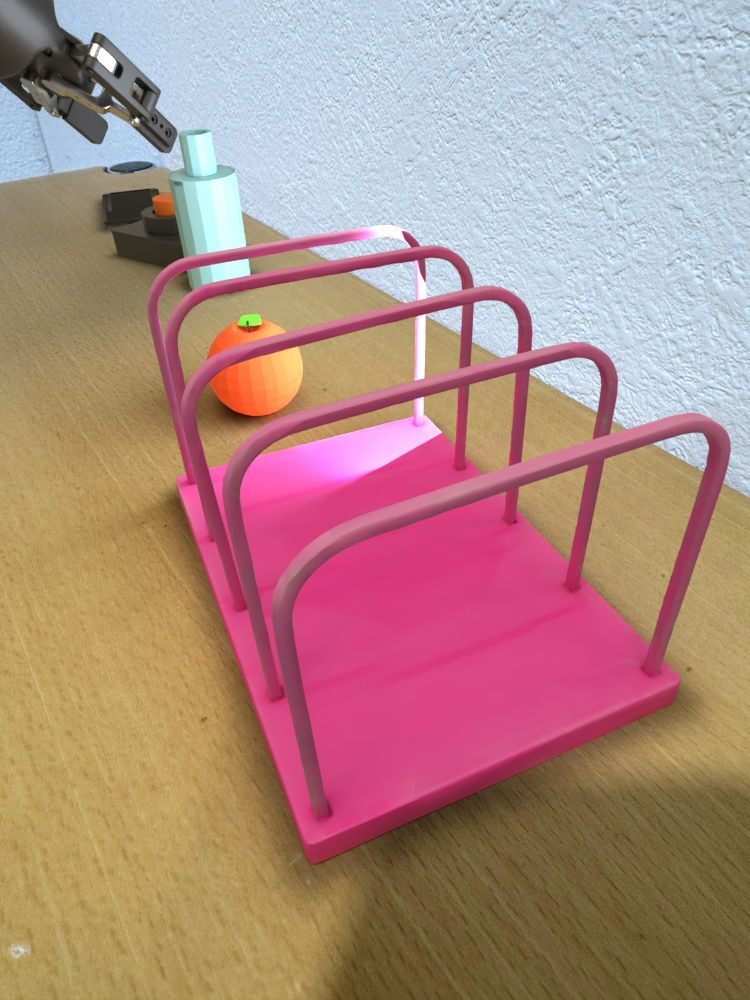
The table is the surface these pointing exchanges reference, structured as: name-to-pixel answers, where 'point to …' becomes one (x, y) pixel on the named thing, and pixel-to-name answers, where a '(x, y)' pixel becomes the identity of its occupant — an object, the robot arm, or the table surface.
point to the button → (163, 204)
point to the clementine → (256, 370)
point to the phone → (125, 206)
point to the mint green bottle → (207, 208)
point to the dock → (150, 239)
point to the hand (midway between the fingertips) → (135, 139)
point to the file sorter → (411, 569)
